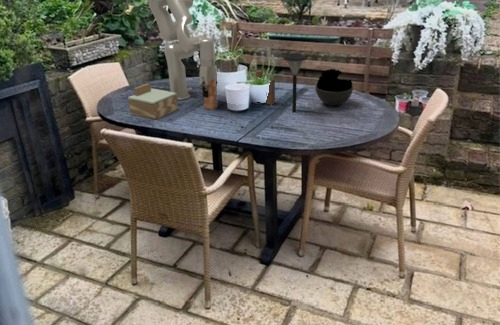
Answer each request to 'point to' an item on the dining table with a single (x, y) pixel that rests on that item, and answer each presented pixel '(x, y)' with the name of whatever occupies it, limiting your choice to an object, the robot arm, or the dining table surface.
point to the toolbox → (153, 108)
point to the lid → (150, 94)
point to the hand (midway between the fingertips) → (210, 95)
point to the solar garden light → (294, 72)
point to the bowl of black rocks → (333, 88)
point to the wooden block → (271, 89)
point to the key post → (211, 96)
